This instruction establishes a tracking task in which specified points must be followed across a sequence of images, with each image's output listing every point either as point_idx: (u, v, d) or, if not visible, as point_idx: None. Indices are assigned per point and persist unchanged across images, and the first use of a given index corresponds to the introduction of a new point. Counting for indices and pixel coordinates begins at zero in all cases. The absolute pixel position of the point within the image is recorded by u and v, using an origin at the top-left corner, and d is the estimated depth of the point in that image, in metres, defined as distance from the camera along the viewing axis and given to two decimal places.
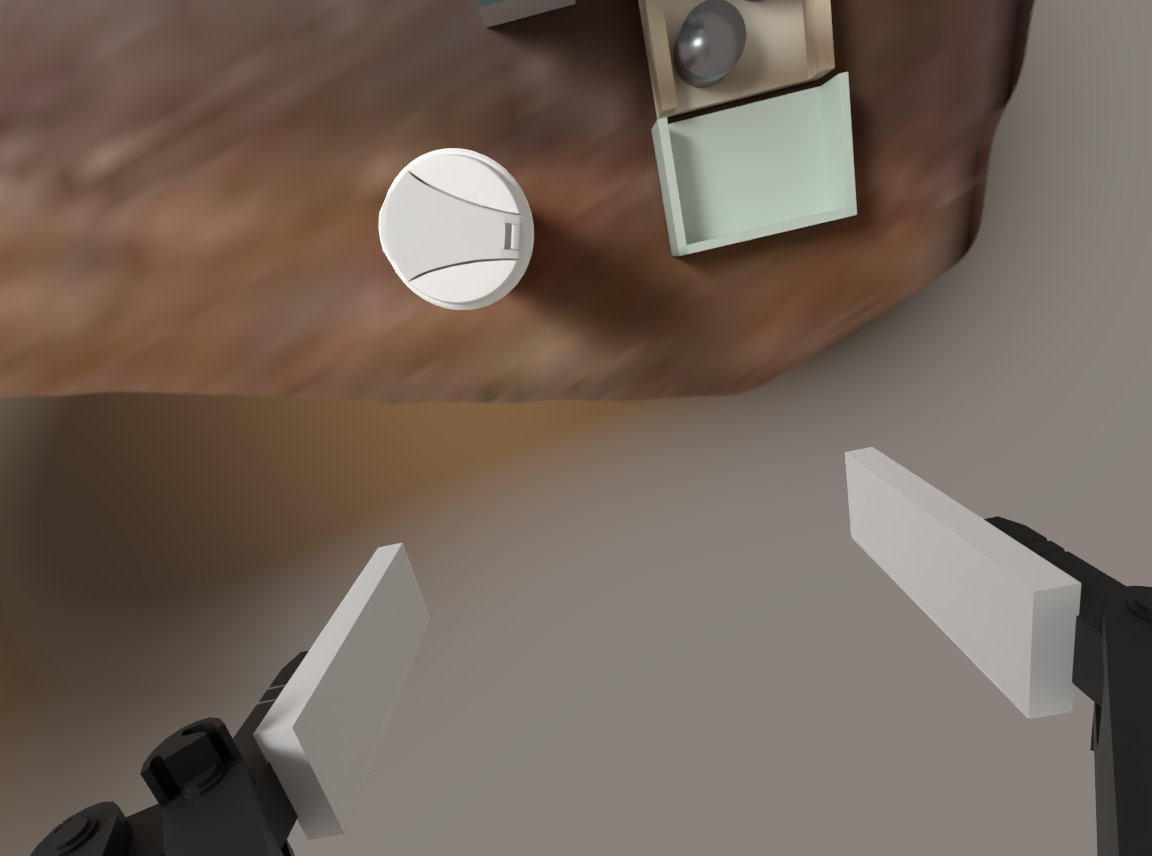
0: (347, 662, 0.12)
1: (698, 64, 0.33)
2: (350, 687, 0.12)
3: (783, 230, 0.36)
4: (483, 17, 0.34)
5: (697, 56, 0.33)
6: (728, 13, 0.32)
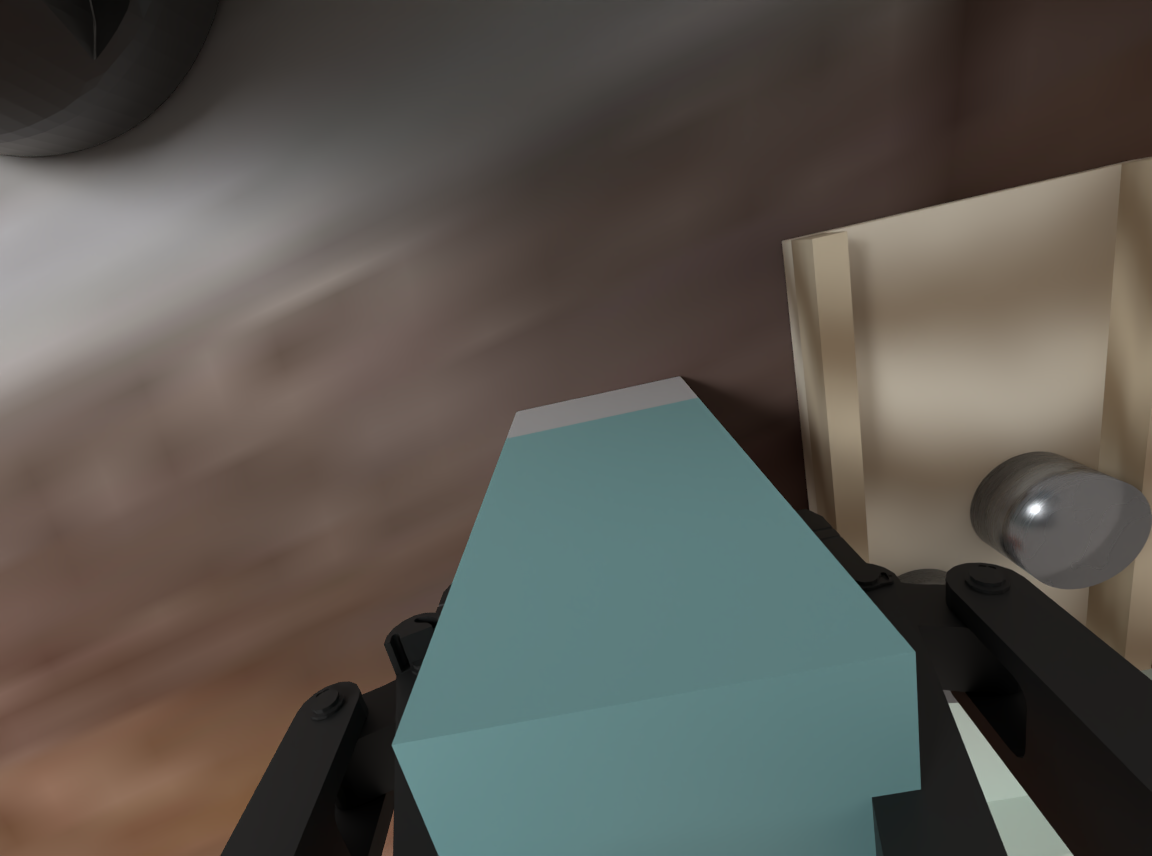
0: None
1: None
2: None
3: None
4: None
5: None
6: None
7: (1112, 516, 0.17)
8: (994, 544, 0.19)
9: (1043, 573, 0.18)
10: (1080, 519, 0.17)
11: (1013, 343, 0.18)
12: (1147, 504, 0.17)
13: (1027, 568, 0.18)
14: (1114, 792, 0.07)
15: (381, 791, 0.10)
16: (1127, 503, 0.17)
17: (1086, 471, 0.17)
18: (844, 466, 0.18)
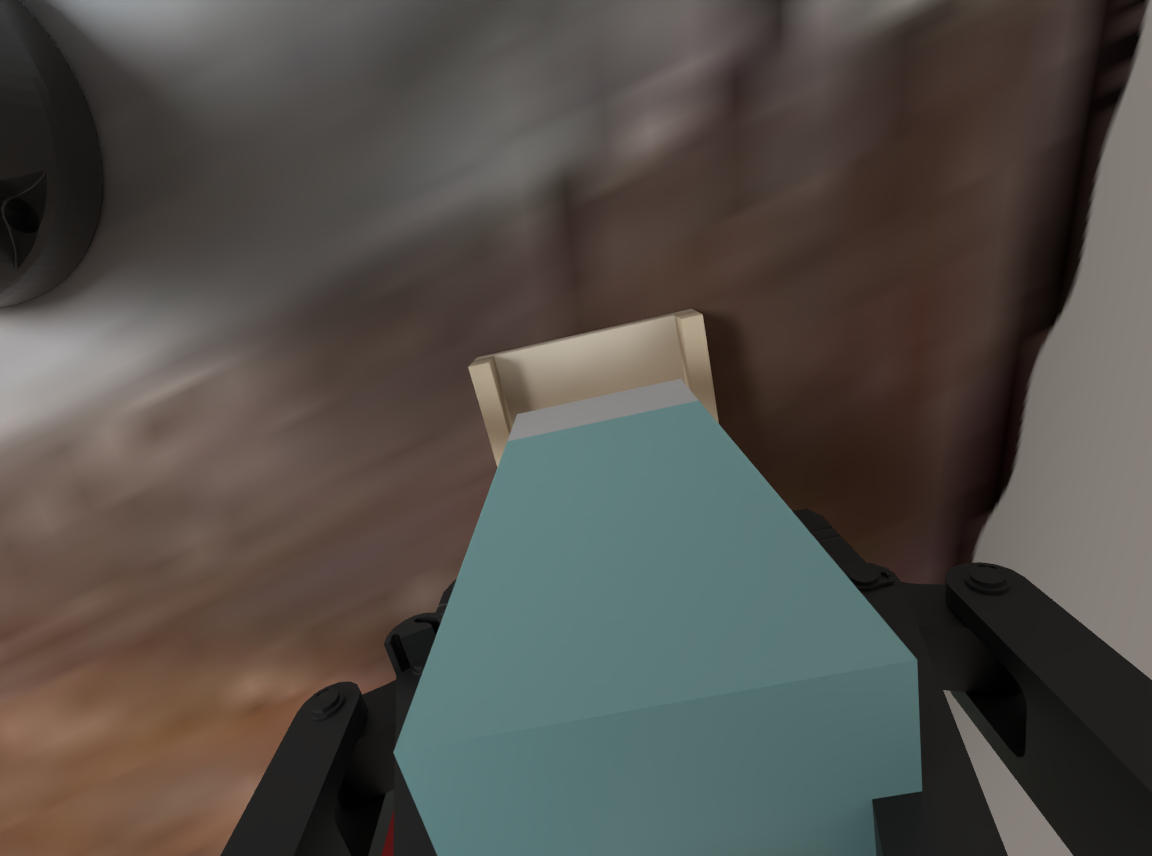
0: None
1: None
2: None
3: None
4: None
5: None
6: None
7: None
8: None
9: None
10: None
11: None
12: None
13: None
14: (1114, 792, 0.07)
15: (381, 791, 0.10)
16: None
17: None
18: None
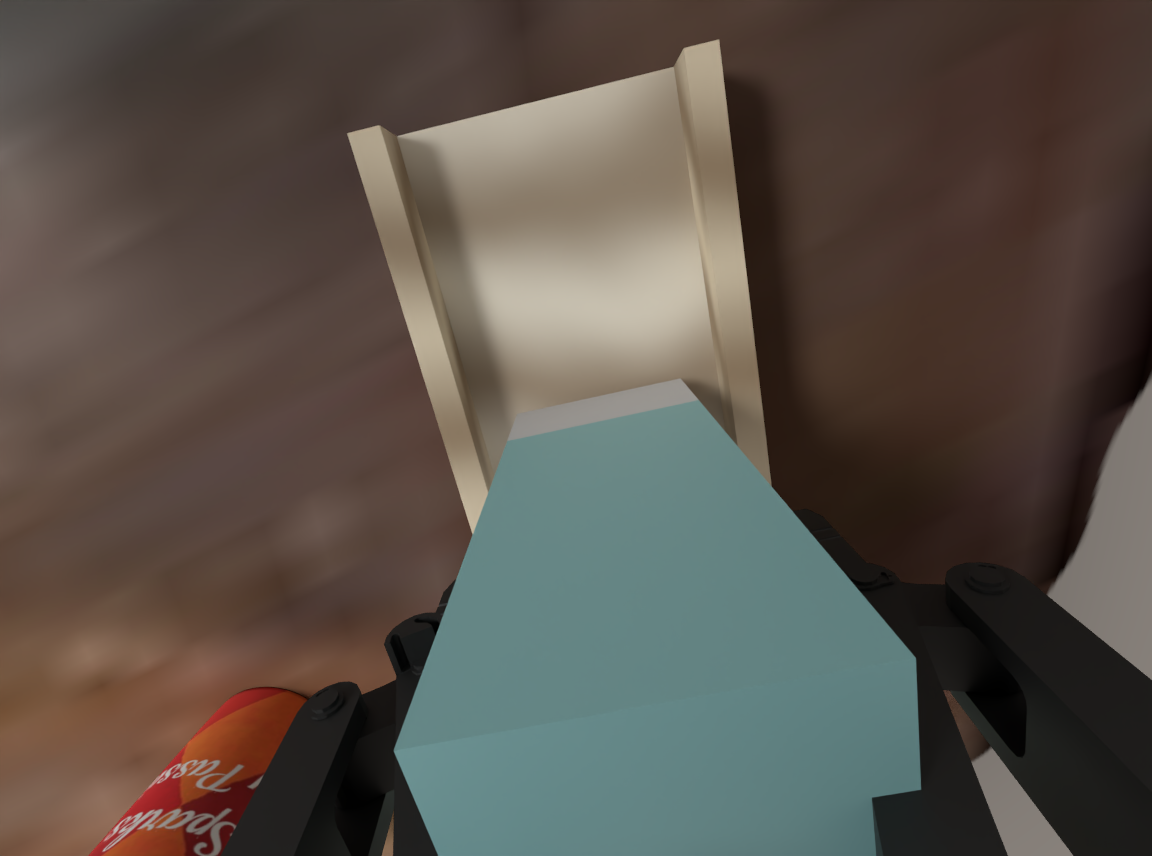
0: None
1: None
2: None
3: None
4: None
5: None
6: None
7: None
8: None
9: None
10: None
11: (608, 250, 0.18)
12: None
13: None
14: (1113, 792, 0.07)
15: (381, 791, 0.10)
16: None
17: None
18: (433, 368, 0.18)
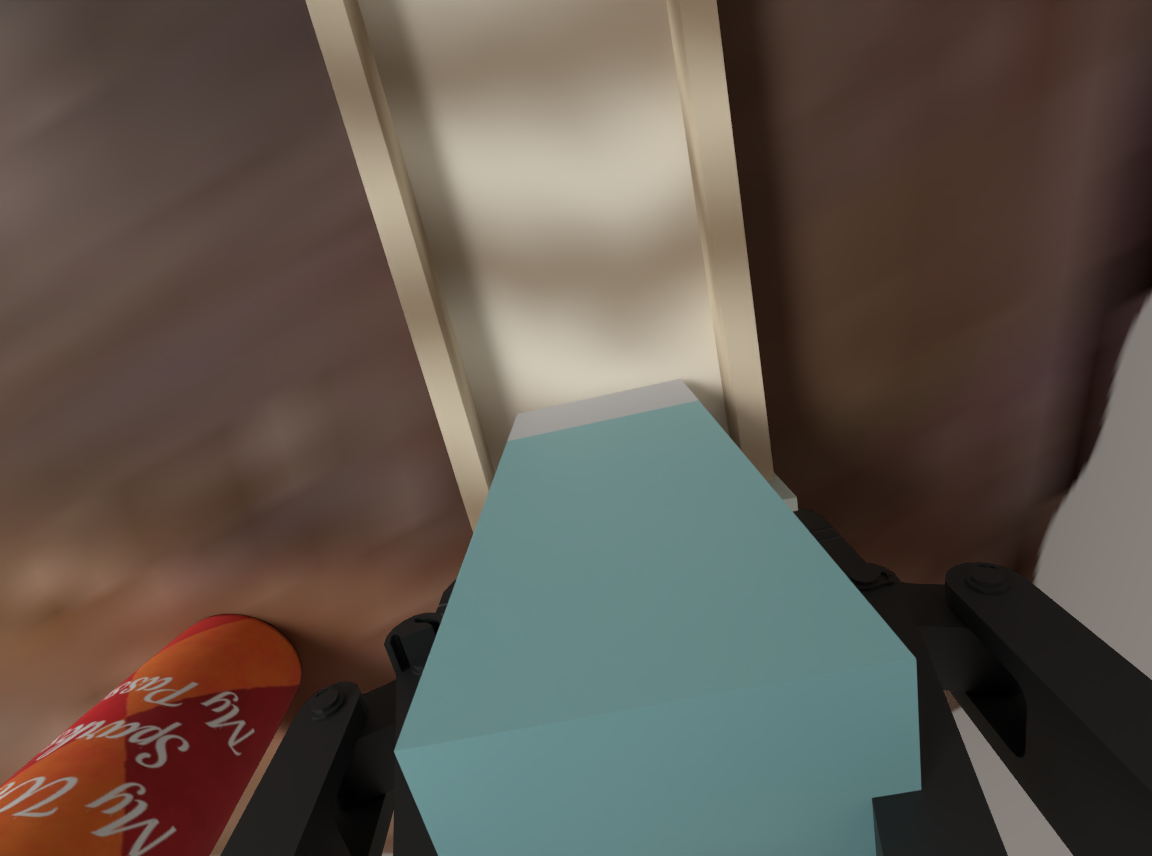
0: None
1: None
2: None
3: None
4: None
5: None
6: None
7: None
8: None
9: None
10: None
11: (582, 111, 0.17)
12: None
13: None
14: (1114, 792, 0.07)
15: (381, 791, 0.10)
16: None
17: None
18: (393, 236, 0.17)
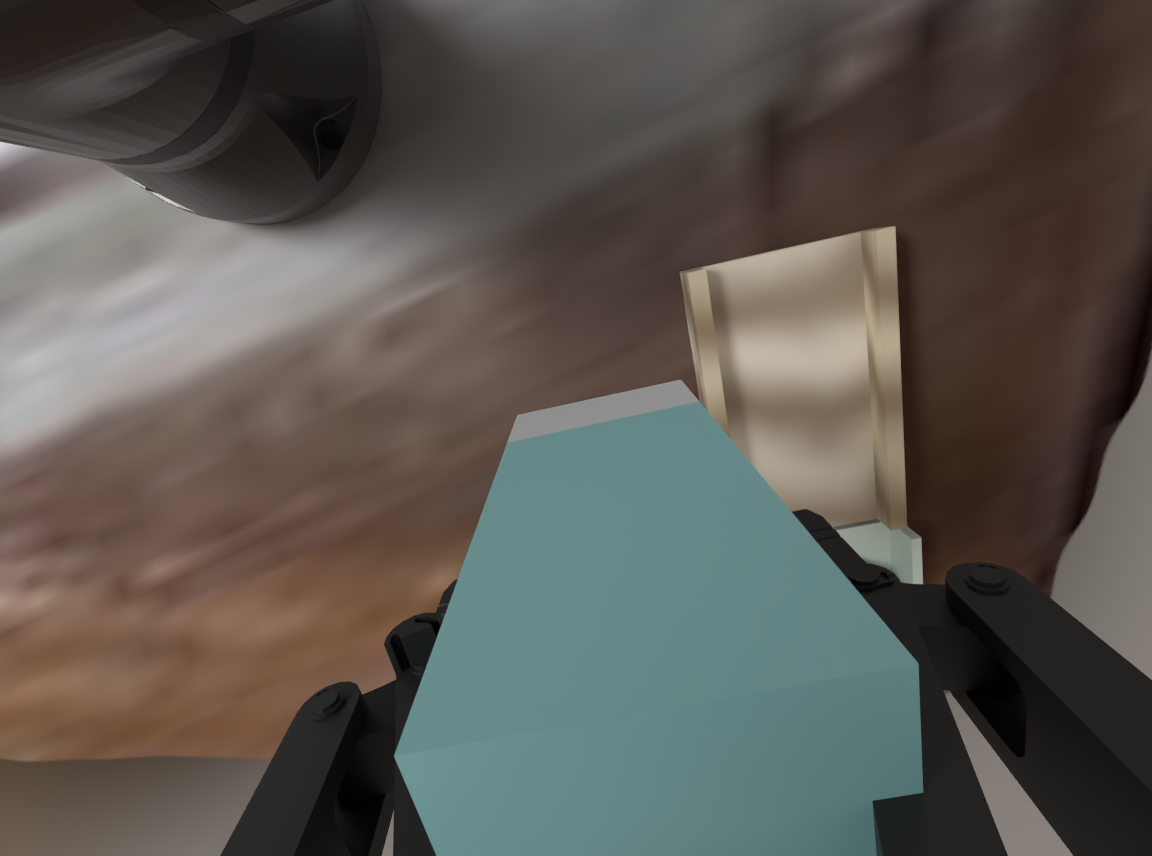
0: None
1: None
2: None
3: None
4: None
5: None
6: None
7: None
8: None
9: None
10: None
11: (812, 330, 0.32)
12: None
13: None
14: (1114, 792, 0.07)
15: (381, 791, 0.10)
16: None
17: None
18: (714, 399, 0.31)
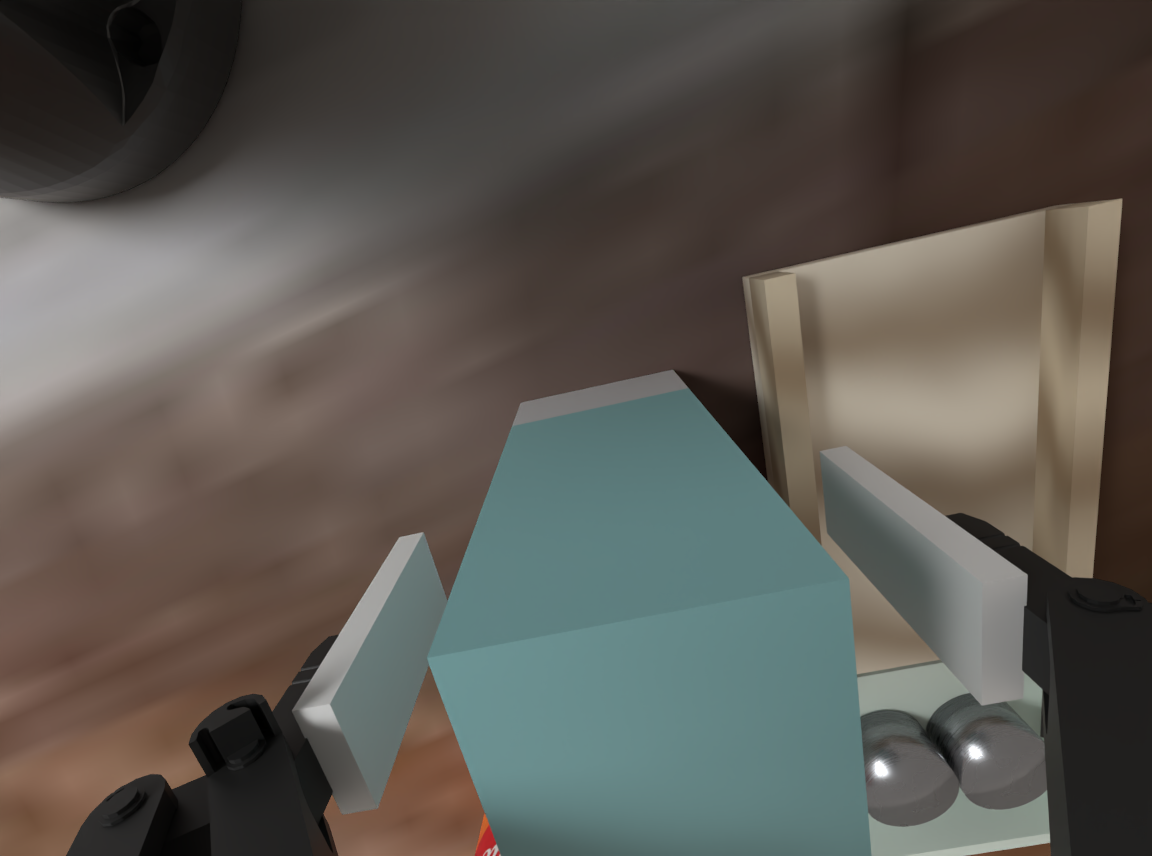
0: (376, 645, 0.12)
1: (901, 820, 0.24)
2: (379, 669, 0.12)
3: (984, 851, 0.24)
4: None
5: (896, 814, 0.24)
6: (922, 769, 0.23)
7: (1026, 761, 0.23)
8: None
9: (981, 801, 0.23)
10: (1002, 765, 0.23)
11: (953, 369, 0.20)
12: None
13: (968, 798, 0.23)
14: None
15: None
16: (1035, 752, 0.23)
17: (1002, 726, 0.23)
18: (798, 482, 0.19)
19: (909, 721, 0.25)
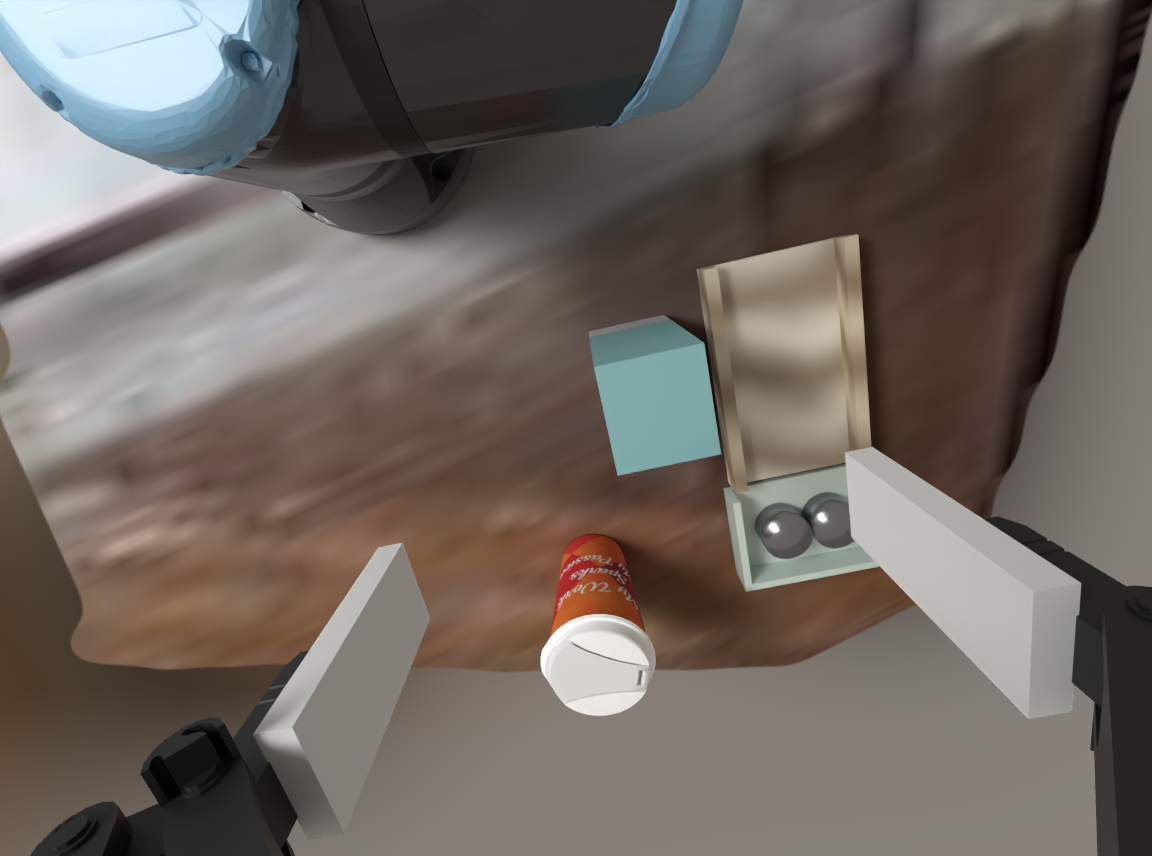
0: (347, 662, 0.12)
1: (789, 554, 0.45)
2: (350, 687, 0.12)
3: (829, 575, 0.46)
4: None
5: (785, 551, 0.45)
6: (788, 521, 0.44)
7: (845, 518, 0.44)
8: None
9: (825, 543, 0.45)
10: (833, 521, 0.44)
11: (798, 313, 0.41)
12: None
13: None
14: None
15: None
16: None
17: (834, 501, 0.45)
18: (723, 366, 0.41)
19: (785, 505, 0.46)
